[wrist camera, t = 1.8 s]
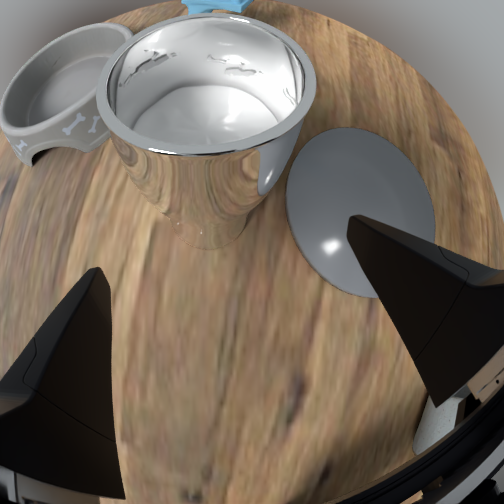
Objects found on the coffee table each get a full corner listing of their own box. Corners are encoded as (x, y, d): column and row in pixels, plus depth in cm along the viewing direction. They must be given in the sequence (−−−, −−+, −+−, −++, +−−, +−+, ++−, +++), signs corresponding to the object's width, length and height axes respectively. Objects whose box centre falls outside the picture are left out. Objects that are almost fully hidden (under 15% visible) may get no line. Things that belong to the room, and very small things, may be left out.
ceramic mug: (396, 450, 20) (439, 479, 12) (418, 383, 21) (472, 401, 14) (451, 433, 21) (491, 449, 14) (469, 375, 23) (514, 384, 15)
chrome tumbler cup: (167, 171, 21) (124, 17, 6) (252, 172, 22) (306, 19, 7) (162, 255, 20) (60, 172, 5) (253, 256, 21) (342, 173, 6)
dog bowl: (37, 71, 21) (23, 47, 16) (160, 37, 24) (156, 5, 18) (-1, 180, 19) (-28, 162, 13) (145, 146, 21) (131, 110, 16)
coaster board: (445, 211, 25) (450, 208, 24) (381, 333, 21) (388, 334, 20) (344, 108, 25) (348, 102, 24) (244, 209, 21) (245, 205, 20)
